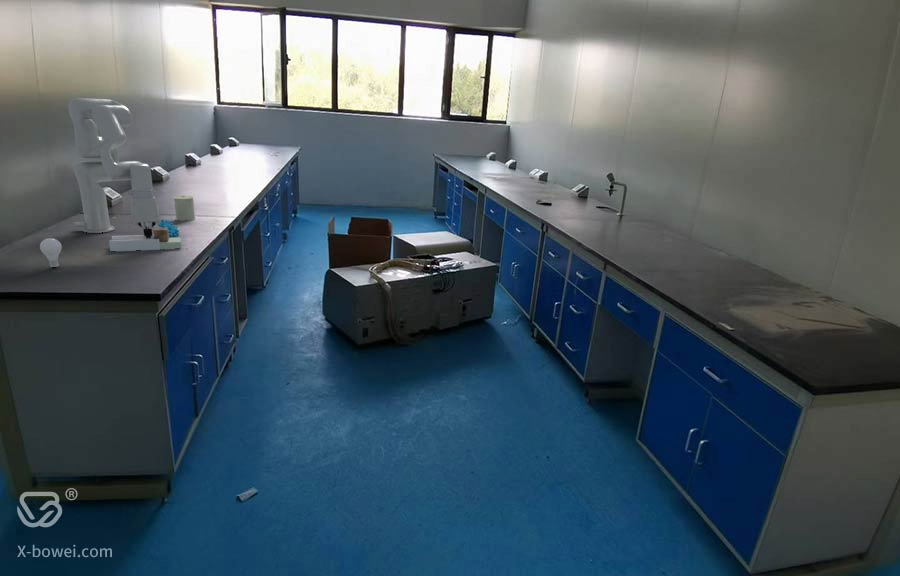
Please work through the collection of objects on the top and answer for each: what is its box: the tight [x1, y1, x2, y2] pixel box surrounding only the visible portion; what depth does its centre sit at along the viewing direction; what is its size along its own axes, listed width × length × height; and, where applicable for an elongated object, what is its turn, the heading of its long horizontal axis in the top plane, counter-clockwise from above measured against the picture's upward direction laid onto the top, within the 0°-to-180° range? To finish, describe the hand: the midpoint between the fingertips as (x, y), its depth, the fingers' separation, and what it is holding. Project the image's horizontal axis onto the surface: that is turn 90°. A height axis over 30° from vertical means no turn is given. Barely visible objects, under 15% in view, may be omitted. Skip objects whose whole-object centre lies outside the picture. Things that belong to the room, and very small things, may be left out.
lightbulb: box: [39, 237, 63, 268], centre depth 195 cm, size 6×6×11 cm
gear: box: [157, 218, 180, 238], centre depth 248 cm, size 11×6×10 cm
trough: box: [108, 234, 183, 252], centre depth 228 cm, size 26×9×4 cm, turn 113°
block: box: [152, 227, 170, 242], centre depth 229 cm, size 5×5×5 cm
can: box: [173, 195, 196, 222], centre depth 281 cm, size 9×9×12 cm
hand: (148, 237), depth 227 cm, fingers closed
